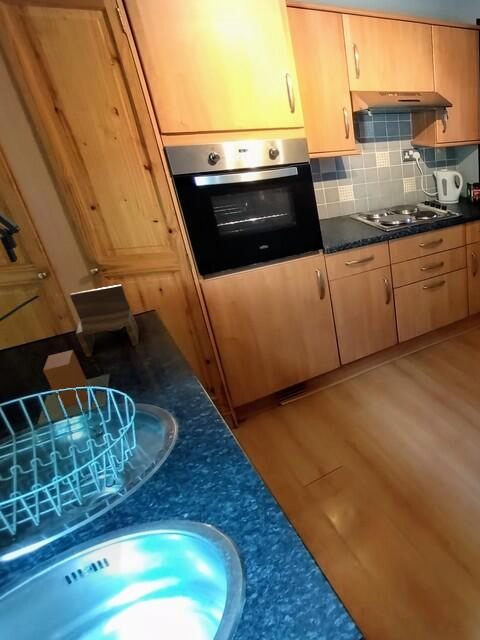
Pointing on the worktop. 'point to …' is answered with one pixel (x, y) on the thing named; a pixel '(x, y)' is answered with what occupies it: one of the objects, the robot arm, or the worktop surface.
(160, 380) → the worktop surface
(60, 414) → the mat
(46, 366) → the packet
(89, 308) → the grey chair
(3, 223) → the robot arm
